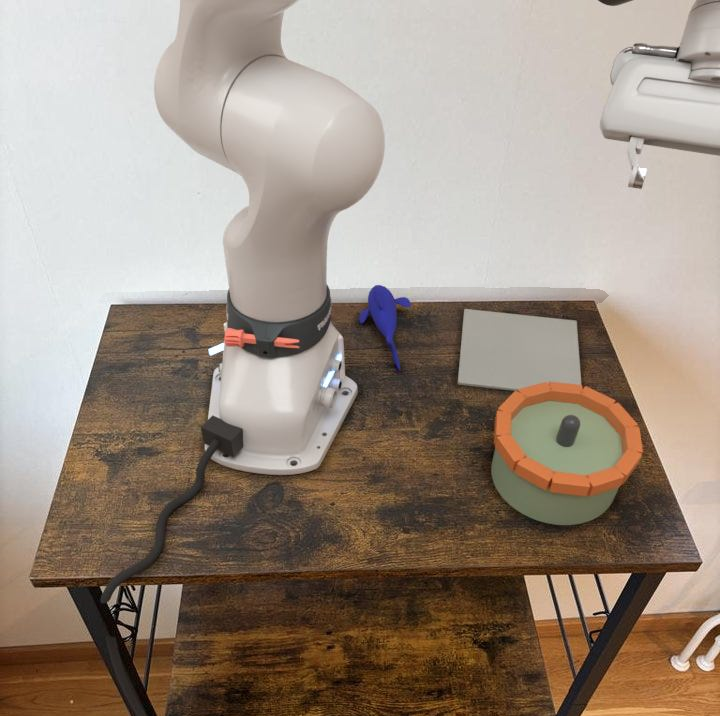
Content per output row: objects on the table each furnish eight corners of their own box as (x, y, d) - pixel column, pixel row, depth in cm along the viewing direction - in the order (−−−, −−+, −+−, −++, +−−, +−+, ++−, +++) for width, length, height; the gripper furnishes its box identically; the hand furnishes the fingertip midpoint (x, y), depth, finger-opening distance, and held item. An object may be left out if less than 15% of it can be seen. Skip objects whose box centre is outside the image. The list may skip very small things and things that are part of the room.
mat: (581, 398, 94) (582, 396, 94) (457, 384, 95) (457, 382, 95) (576, 322, 104) (576, 320, 104) (464, 310, 106) (464, 308, 105)
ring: (644, 504, 75) (649, 494, 74) (492, 485, 76) (494, 475, 75) (630, 400, 85) (634, 390, 84) (496, 385, 87) (498, 375, 85)
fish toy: (359, 314, 107) (344, 277, 102) (409, 297, 106) (396, 258, 101) (373, 382, 97) (357, 345, 92) (428, 364, 96) (414, 325, 91)
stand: (620, 533, 80) (649, 476, 73) (489, 516, 81) (504, 458, 74) (610, 439, 90) (634, 380, 82) (492, 425, 91) (506, 366, 83)
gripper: (620, 27, 74) (580, 170, 77) (842, 52, 68) (790, 205, 71) (619, 53, 80) (582, 184, 83) (823, 77, 74) (776, 217, 77)
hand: (680, 194), depth 77 cm, fingers open, 8 cm apart
